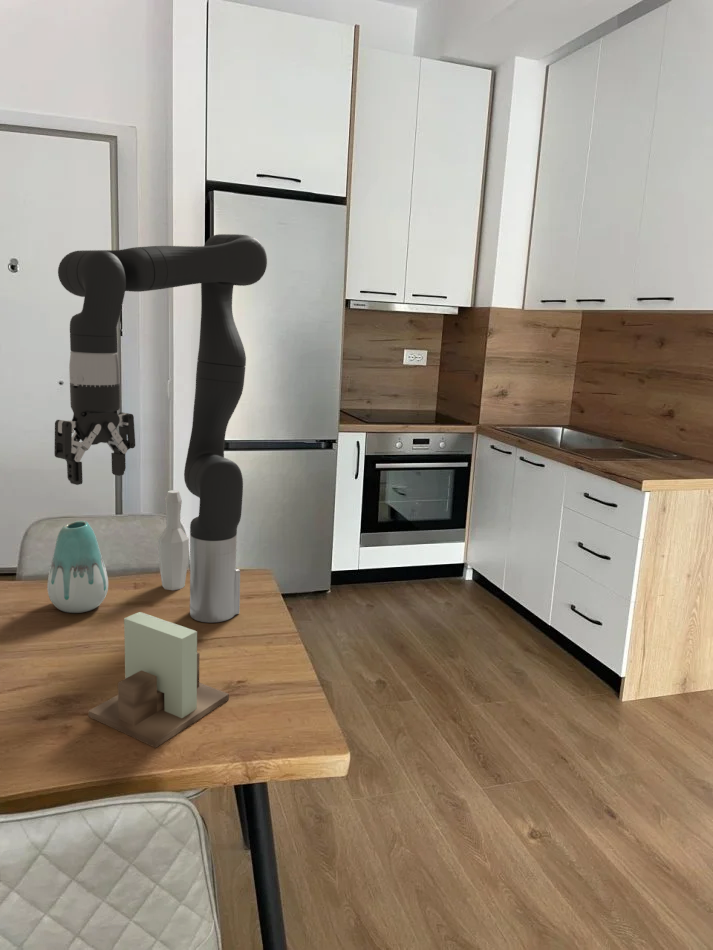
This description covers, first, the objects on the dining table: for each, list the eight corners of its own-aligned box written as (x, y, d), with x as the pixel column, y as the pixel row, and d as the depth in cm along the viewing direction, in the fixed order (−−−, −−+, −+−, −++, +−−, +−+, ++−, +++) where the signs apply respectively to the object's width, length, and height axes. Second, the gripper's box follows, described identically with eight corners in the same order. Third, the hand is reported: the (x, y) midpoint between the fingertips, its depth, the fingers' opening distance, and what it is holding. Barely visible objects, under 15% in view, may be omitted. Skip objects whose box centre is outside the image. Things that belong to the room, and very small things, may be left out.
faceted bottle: (193, 586, 161) (194, 492, 157) (170, 593, 156) (170, 496, 152) (176, 579, 165) (175, 486, 160) (153, 586, 160) (152, 491, 155)
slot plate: (165, 674, 122) (164, 636, 121) (228, 699, 116) (229, 659, 114) (88, 716, 109) (87, 674, 107) (155, 747, 102) (155, 703, 101)
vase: (43, 619, 141) (39, 532, 137) (53, 597, 152) (50, 515, 148) (105, 617, 143) (103, 531, 139) (111, 594, 154) (109, 515, 150)
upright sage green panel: (140, 686, 116) (139, 611, 114) (196, 708, 111) (197, 631, 108) (125, 694, 114) (124, 618, 111) (182, 718, 108) (182, 638, 105)
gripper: (113, 376, 122) (115, 469, 126) (40, 380, 110) (45, 483, 114) (145, 380, 118) (146, 475, 122) (73, 385, 106) (77, 491, 110)
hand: (97, 479), depth 118 cm, fingers open, 8 cm apart
